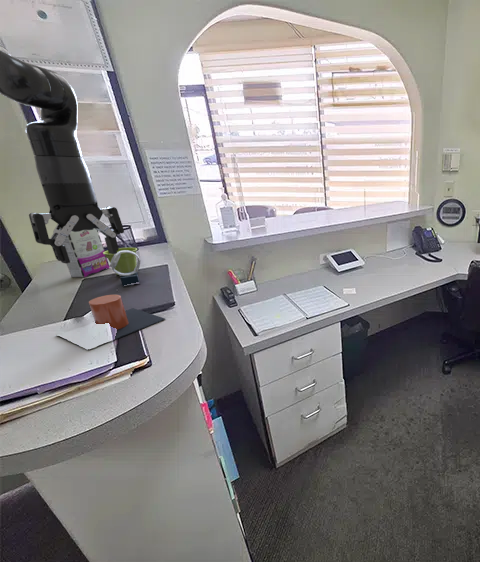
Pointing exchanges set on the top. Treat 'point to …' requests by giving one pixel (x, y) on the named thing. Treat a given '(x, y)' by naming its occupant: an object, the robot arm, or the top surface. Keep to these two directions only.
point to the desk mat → (137, 322)
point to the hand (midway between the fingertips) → (90, 257)
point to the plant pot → (124, 260)
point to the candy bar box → (85, 253)
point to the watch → (130, 276)
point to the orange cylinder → (109, 311)
